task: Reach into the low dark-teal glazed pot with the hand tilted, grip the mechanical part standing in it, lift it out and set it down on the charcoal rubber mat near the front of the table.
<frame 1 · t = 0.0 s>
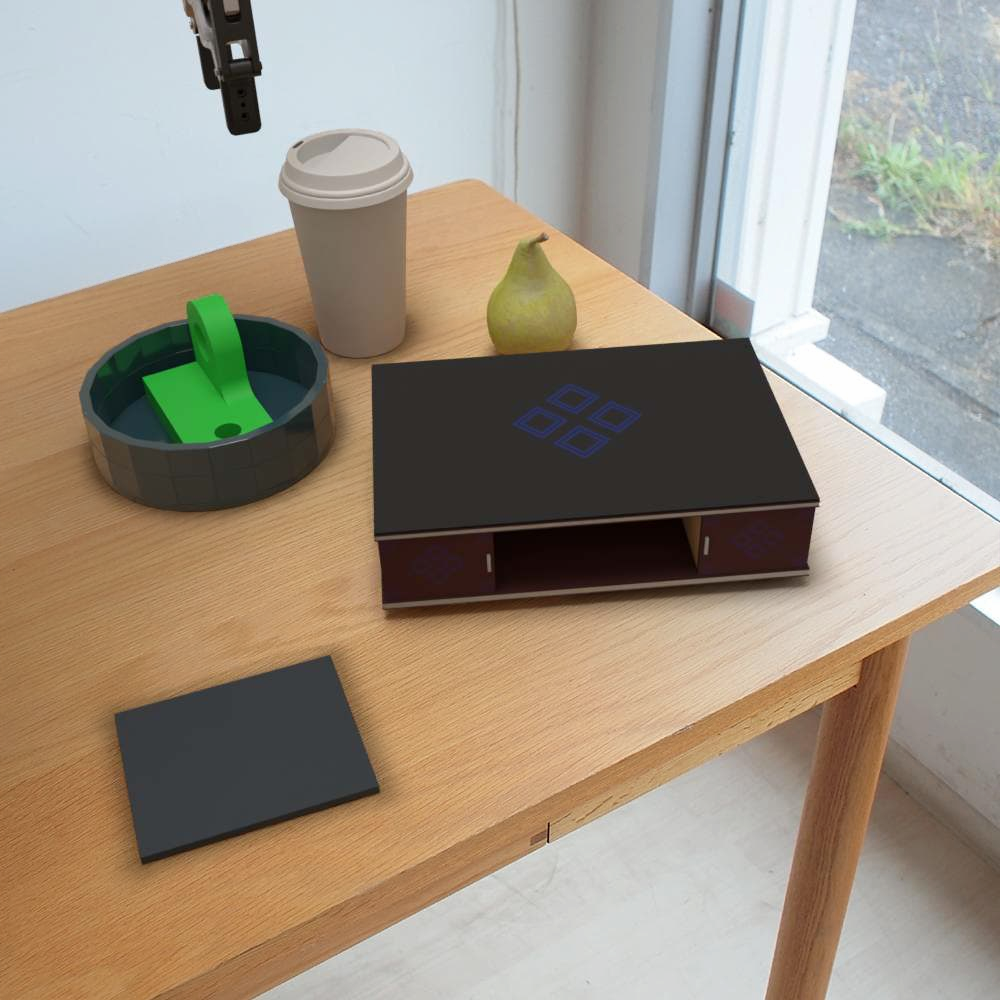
hand: (232, 108, 91), 18 cm above the table, tool pointing down, fingers open, 8 cm apart
miniature tv stand: (578, 513, 84), on the table
coffee cup: (363, 337, 102), on the table
fruit: (534, 359, 99), on the table
pot: (217, 437, 92), on the table
mat: (243, 754, 69), on the table
mechanical part: (216, 432, 91), resting on pot
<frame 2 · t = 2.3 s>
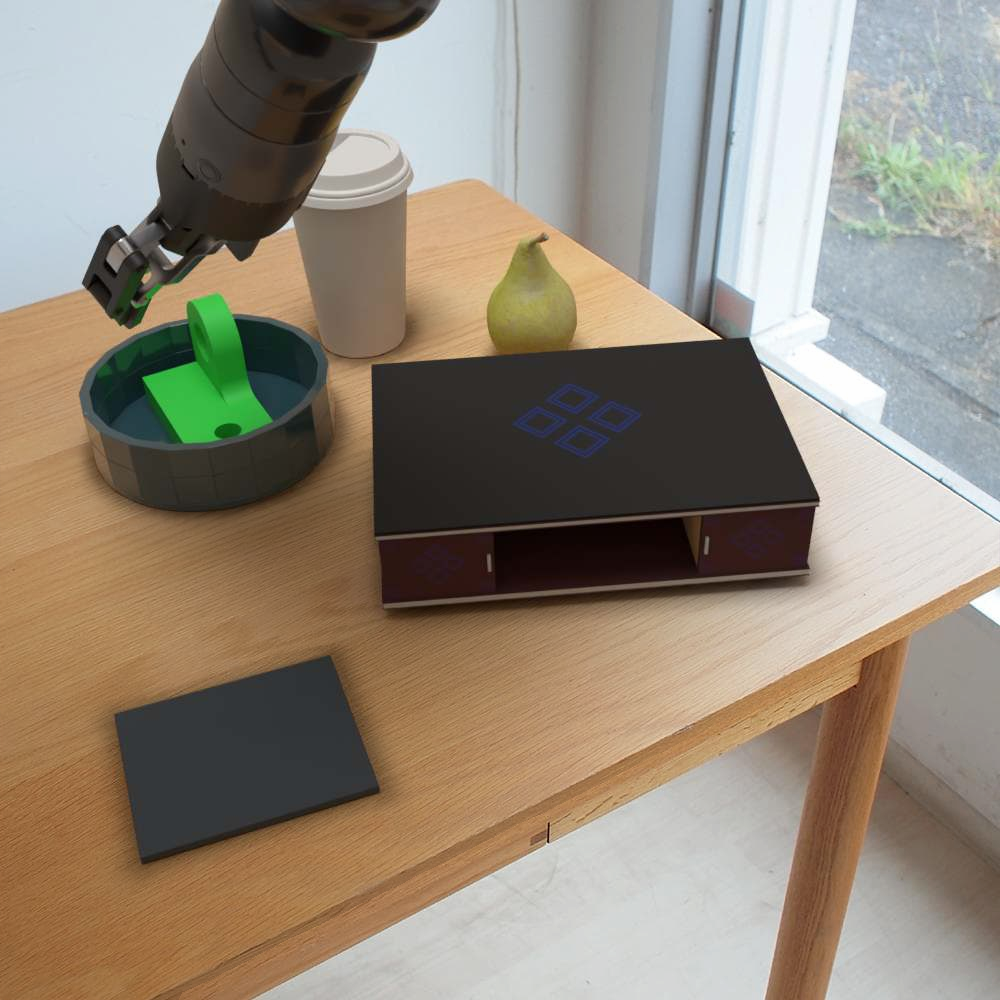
hand: (179, 280, 79), 15 cm above the table, tool tilted 40°, fingers open, 8 cm apart
nothing on the table moved.
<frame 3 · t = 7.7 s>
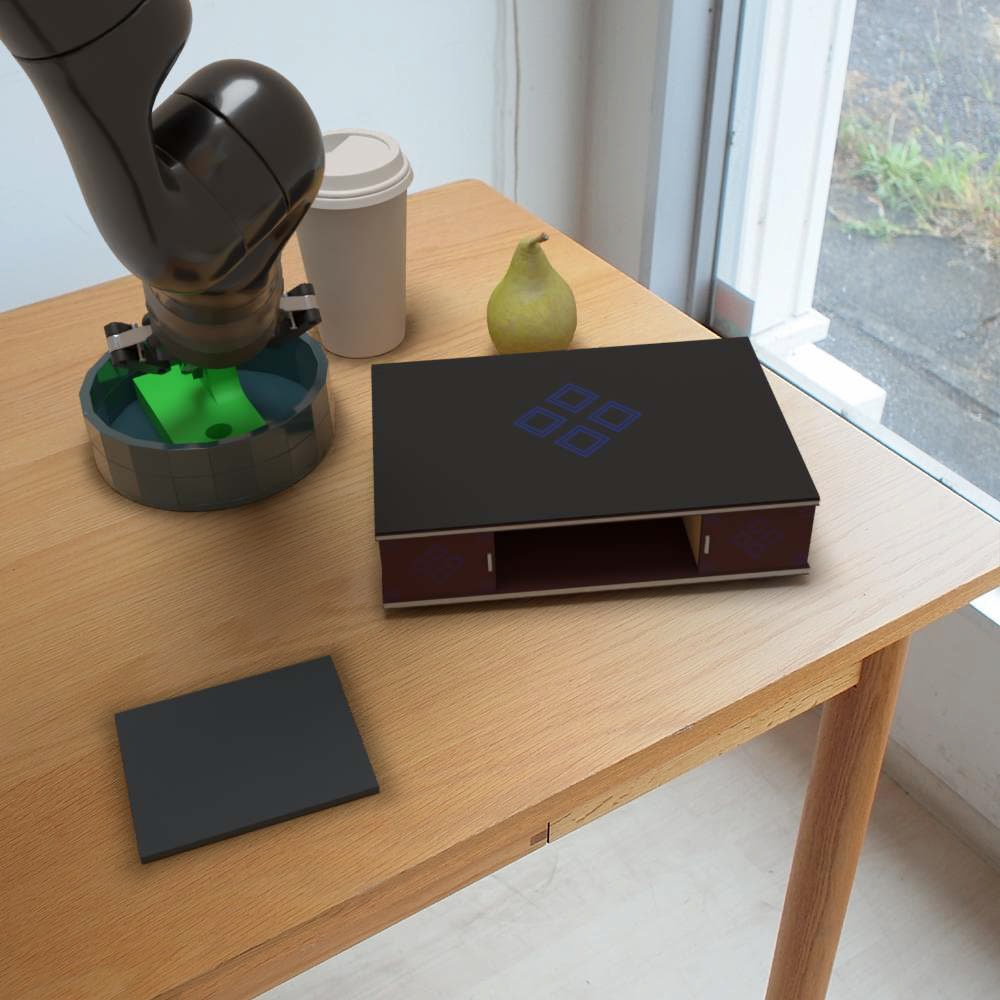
hand: (215, 359, 90), 5 cm above the table, tool tilted 45°, fingers closed on mechanical part, 2 cm apart
mechanical part: (207, 432, 91), resting on pot, touching gripper
everything else where it was.
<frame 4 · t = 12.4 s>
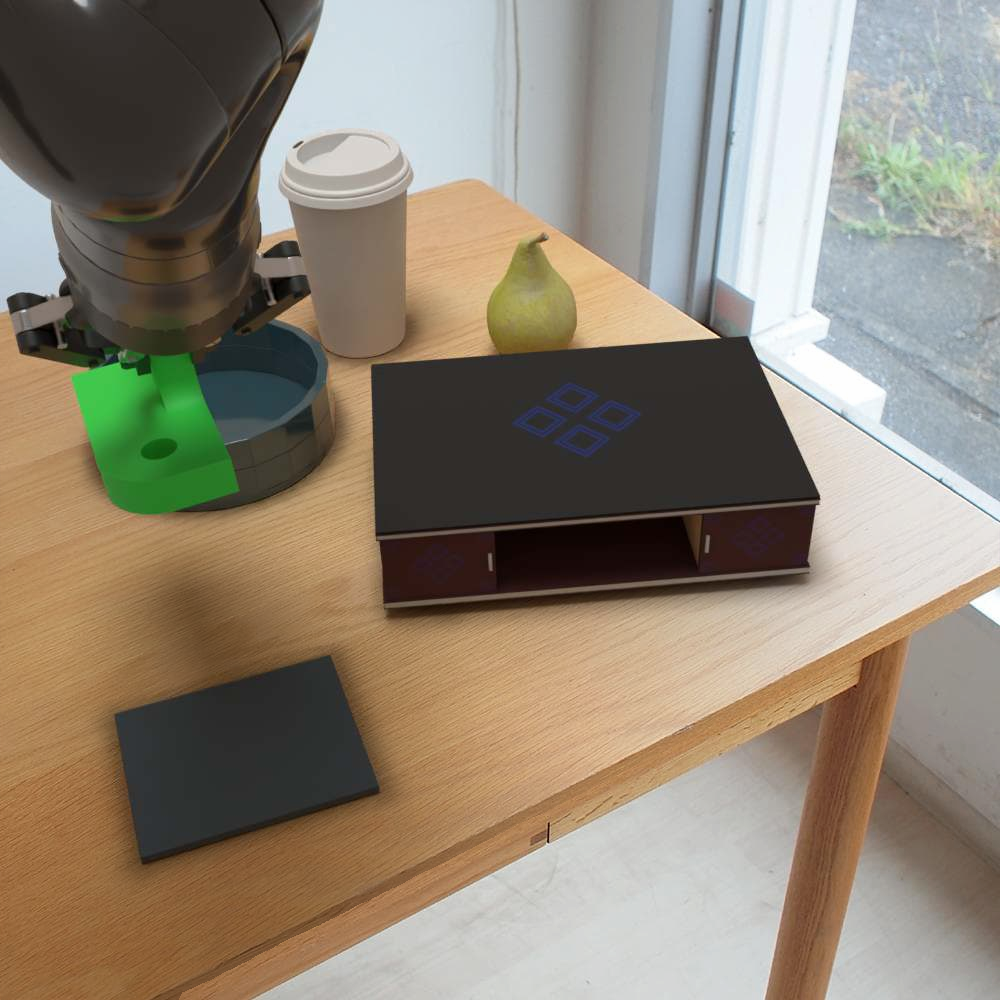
hand: (166, 350, 67), 18 cm above the table, tool tilted 45°, fingers closed on mechanical part
mechanical part: (156, 449, 69), point 13 cm above the table, touching gripper
everything else where it was.
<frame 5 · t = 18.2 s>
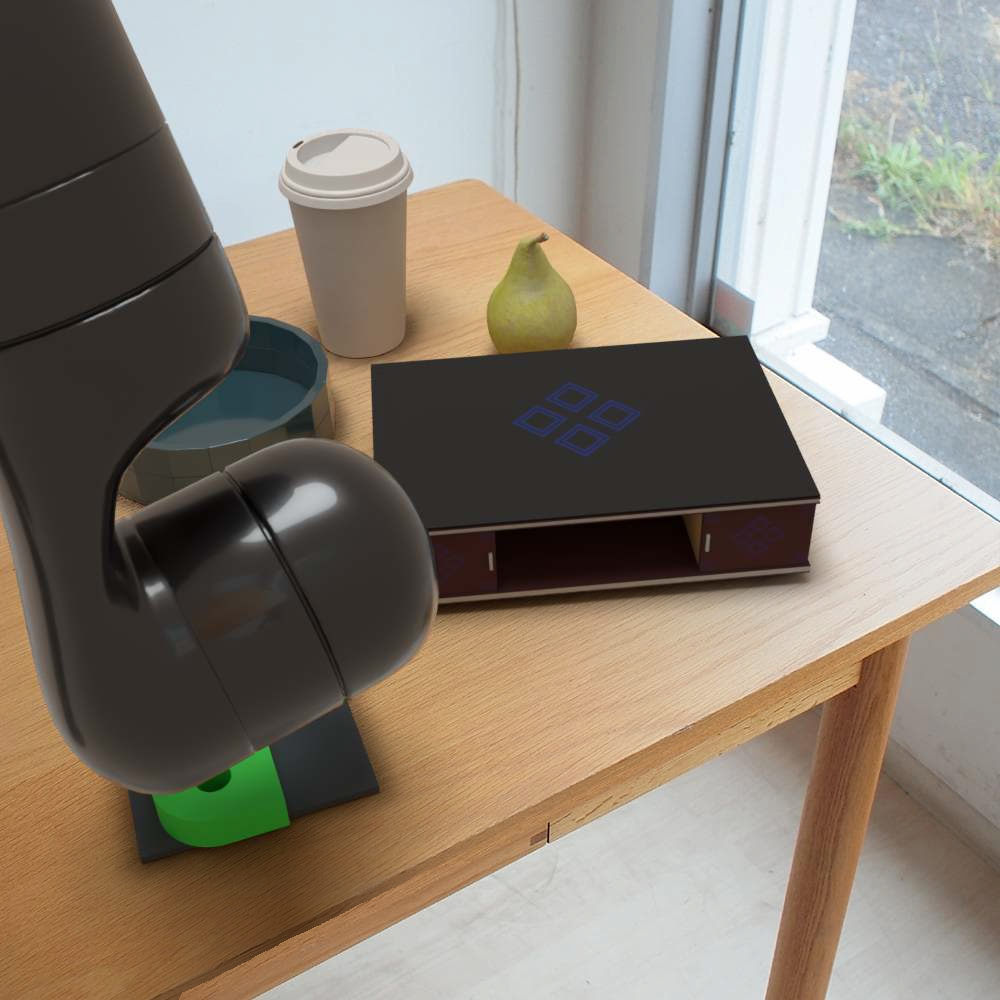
hand: (218, 650, 66), 6 cm above the table, tool tilted 45°, fingers open, 8 cm apart
mechanical part: (207, 757, 69), resting on mat
everything else where it was.
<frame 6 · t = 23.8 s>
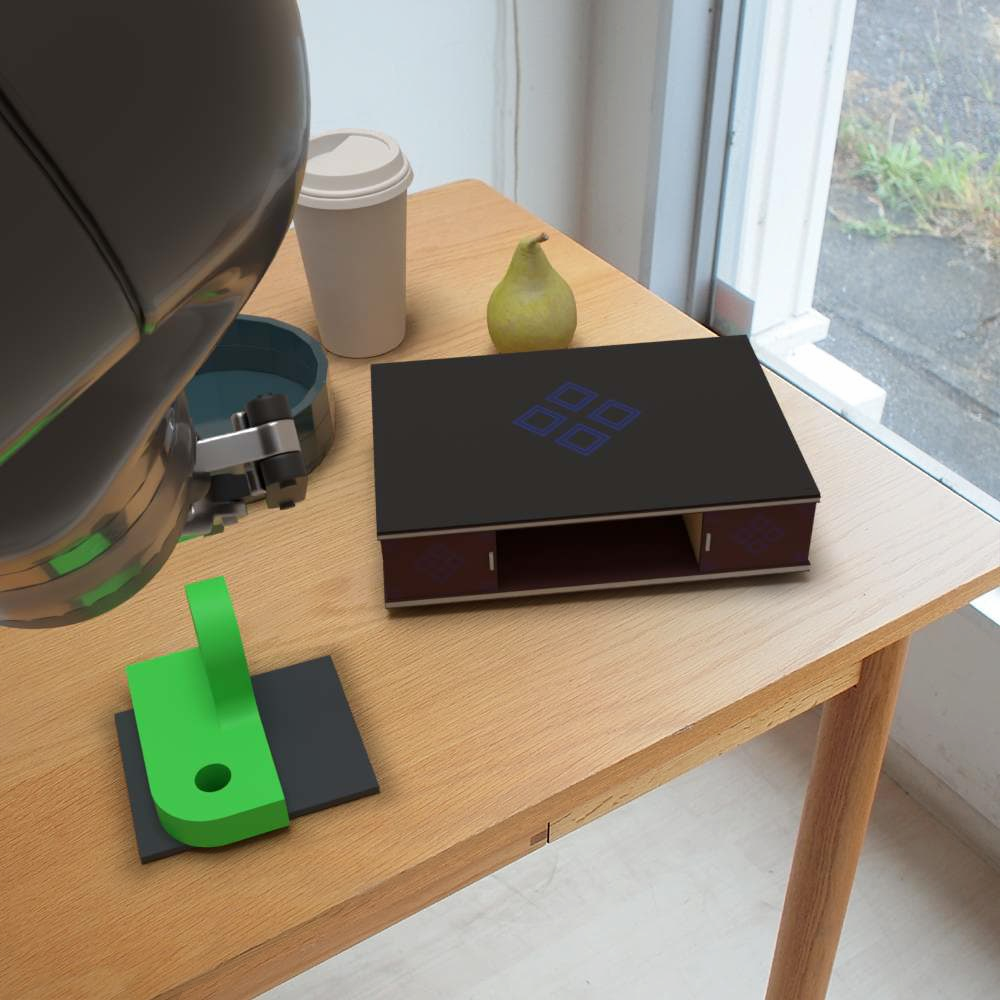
hand: (80, 535, 45), 25 cm above the table, tool tilted 45°, fingers open, 8 cm apart
nothing on the table moved.
at the end: mechanical part inside the target area on the mat (1.8 cm from its centre), point 0.3 cm above the mat's base; mechanical part touching mat; mechanical part tilted 0° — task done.
